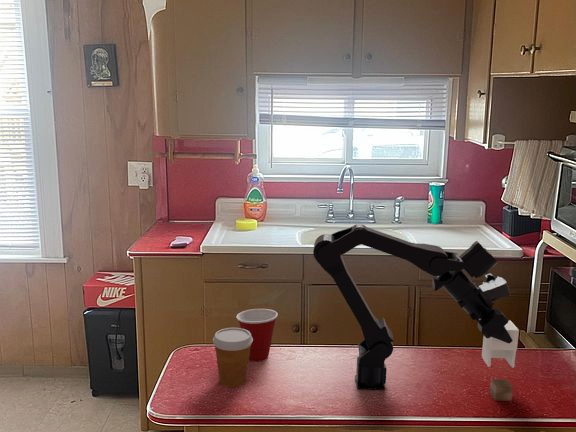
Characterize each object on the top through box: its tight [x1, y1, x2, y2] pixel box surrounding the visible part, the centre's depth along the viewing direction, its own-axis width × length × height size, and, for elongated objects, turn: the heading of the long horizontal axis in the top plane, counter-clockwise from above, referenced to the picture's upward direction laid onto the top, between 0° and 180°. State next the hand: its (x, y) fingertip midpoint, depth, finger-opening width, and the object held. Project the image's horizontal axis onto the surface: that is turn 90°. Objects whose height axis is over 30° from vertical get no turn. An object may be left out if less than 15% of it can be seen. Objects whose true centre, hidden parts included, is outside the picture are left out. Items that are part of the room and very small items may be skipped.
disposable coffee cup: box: [212, 327, 253, 388], centre depth 149 cm, size 10×10×12 cm
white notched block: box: [481, 319, 520, 369], centre depth 146 cm, size 6×6×10 cm
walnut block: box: [489, 378, 514, 402], centre depth 145 cm, size 4×4×4 cm
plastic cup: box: [235, 308, 278, 362], centre depth 163 cm, size 11×11×12 cm
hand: (506, 336), depth 146 cm, fingers closed on white notched block, 6 cm apart
